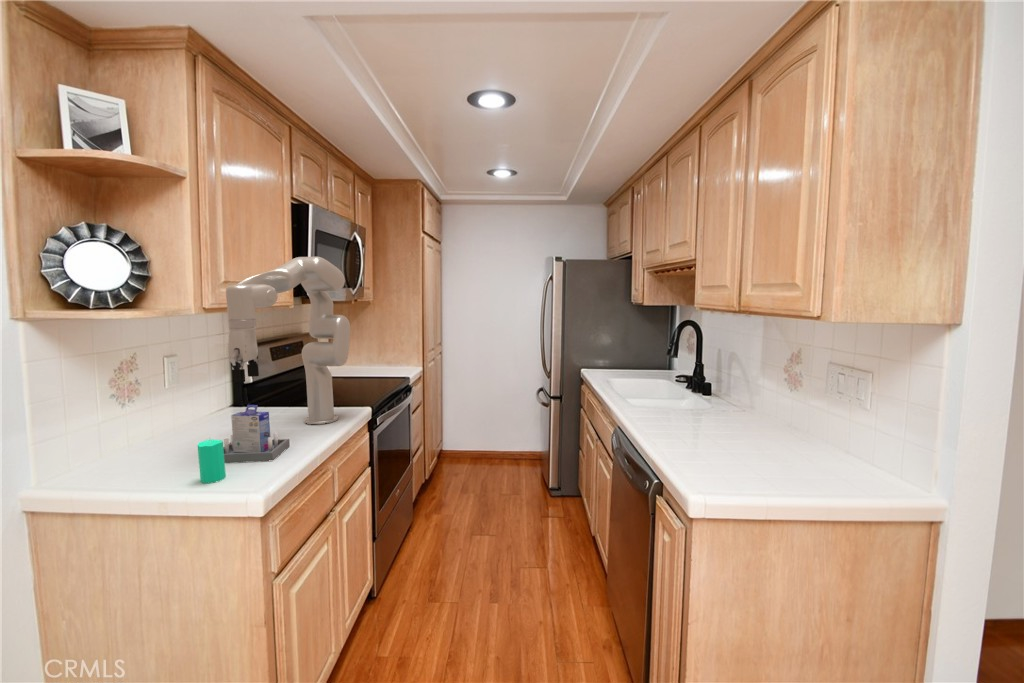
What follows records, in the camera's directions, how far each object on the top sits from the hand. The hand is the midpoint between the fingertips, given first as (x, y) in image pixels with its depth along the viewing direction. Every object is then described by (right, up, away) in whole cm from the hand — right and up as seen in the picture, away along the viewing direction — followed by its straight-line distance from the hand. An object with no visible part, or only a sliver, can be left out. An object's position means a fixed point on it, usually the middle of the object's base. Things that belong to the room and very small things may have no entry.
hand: (246, 379), depth 155 cm
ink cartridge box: (+1, -23, +2) cm, 23 cm away
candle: (0, -27, -18) cm, 32 cm away
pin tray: (+1, -24, +2) cm, 24 cm away
